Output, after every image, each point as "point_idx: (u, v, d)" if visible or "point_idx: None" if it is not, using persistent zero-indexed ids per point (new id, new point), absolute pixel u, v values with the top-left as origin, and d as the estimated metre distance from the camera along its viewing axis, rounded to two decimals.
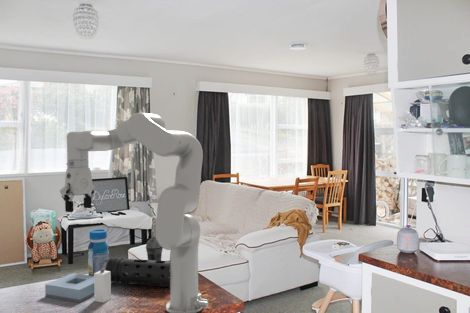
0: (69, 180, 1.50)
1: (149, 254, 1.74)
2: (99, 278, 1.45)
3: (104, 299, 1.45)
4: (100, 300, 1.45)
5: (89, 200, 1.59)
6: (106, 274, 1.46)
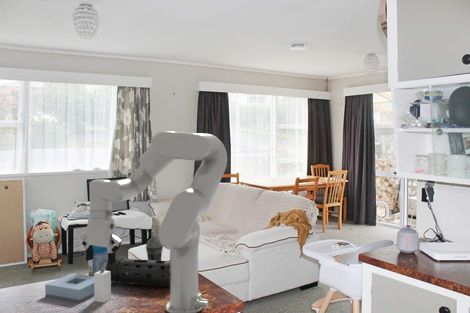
0: (112, 230, 1.45)
1: (149, 254, 1.74)
2: (99, 278, 1.45)
3: (104, 299, 1.45)
4: (100, 300, 1.45)
5: (93, 251, 1.50)
6: (106, 274, 1.46)
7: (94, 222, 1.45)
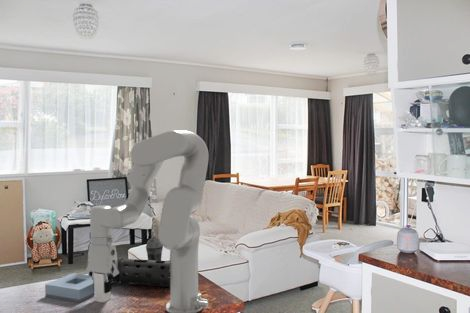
0: (114, 256, 1.46)
1: (149, 254, 1.74)
2: (99, 278, 1.45)
3: (104, 299, 1.45)
4: (100, 300, 1.45)
5: None
6: None
7: (95, 248, 1.45)
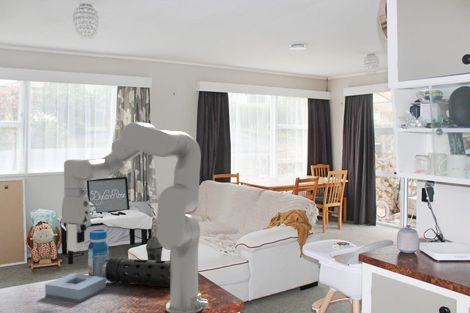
0: (86, 208, 1.52)
1: (149, 254, 1.74)
2: (72, 228, 1.52)
3: (77, 248, 1.52)
4: (73, 249, 1.52)
5: None
6: None
7: (68, 200, 1.51)
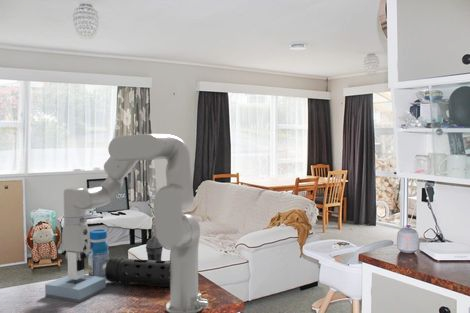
0: (86, 236, 1.52)
1: (149, 254, 1.74)
2: (72, 256, 1.52)
3: (77, 276, 1.52)
4: (73, 277, 1.52)
5: None
6: None
7: (68, 228, 1.52)
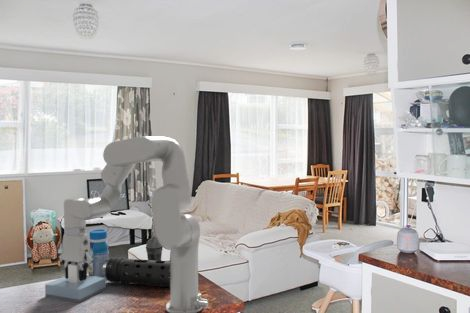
0: (86, 246, 1.53)
1: (149, 254, 1.74)
2: (73, 269, 1.52)
3: None
4: None
5: None
6: None
7: (68, 239, 1.52)
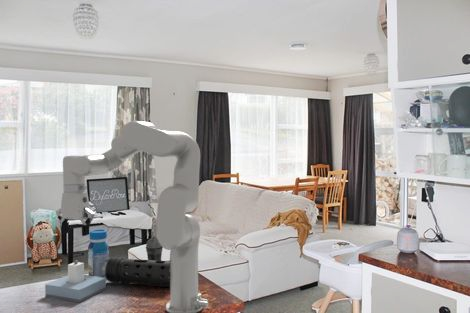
0: (86, 204, 1.52)
1: (149, 254, 1.74)
2: (72, 269, 1.52)
3: None
4: None
5: (68, 225, 1.57)
6: (79, 265, 1.53)
7: (67, 196, 1.51)
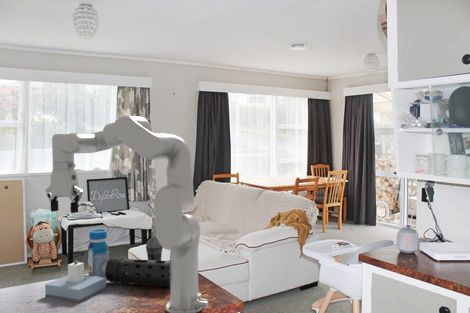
0: (74, 181, 1.54)
1: (149, 254, 1.74)
2: (72, 269, 1.52)
3: None
4: None
5: (57, 203, 1.58)
6: (79, 265, 1.53)
7: (57, 173, 1.53)
